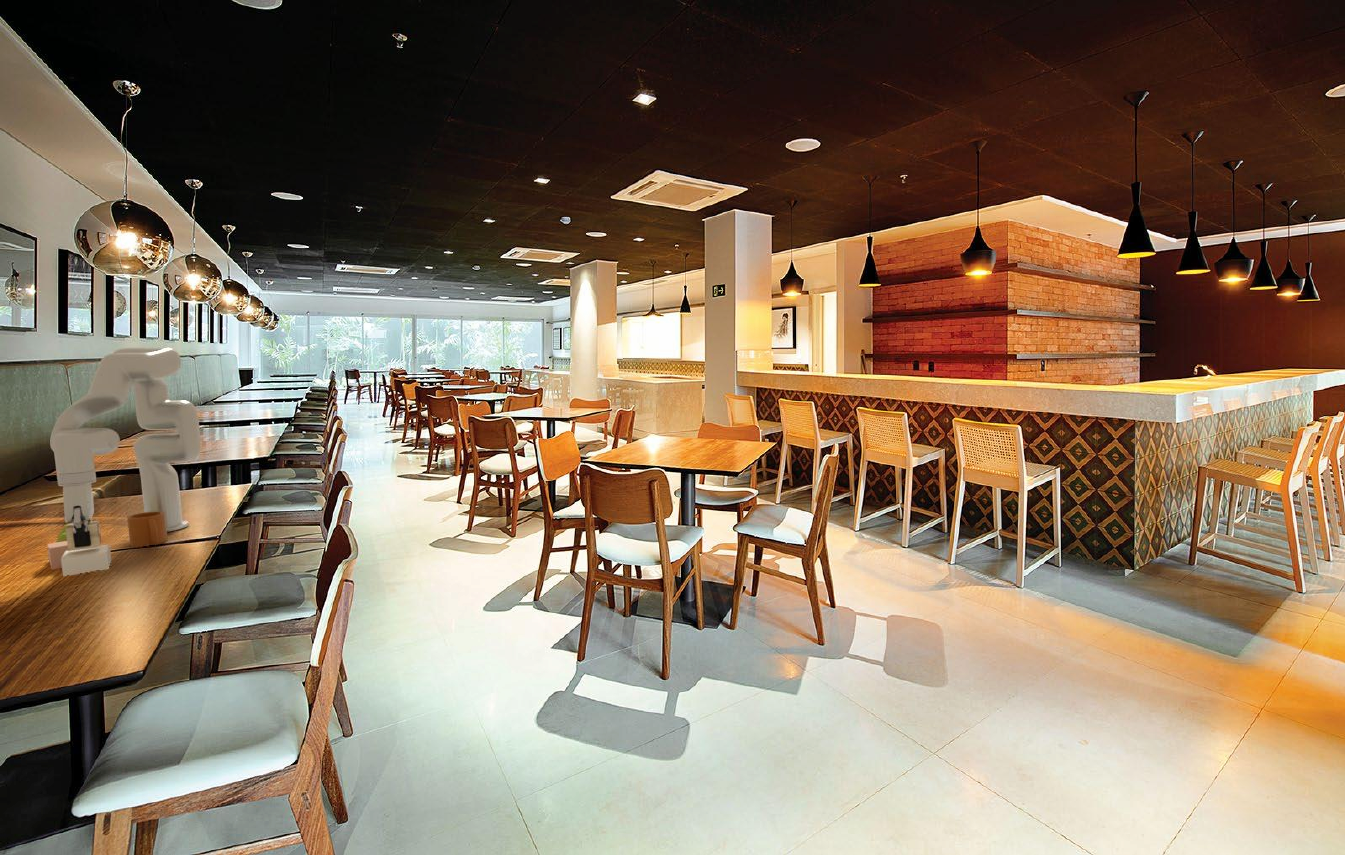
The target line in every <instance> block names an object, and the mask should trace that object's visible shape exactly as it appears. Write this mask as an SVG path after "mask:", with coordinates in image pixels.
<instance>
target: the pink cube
mask: <svg viewBox="0 0 1345 855" xmlns="http://www.w3.org/2000/svg"><path fill="white" fill-rule="evenodd" d="M46 545H47V553H48V559H49V565H50V568H51V570H57V569H62V563H61V558H62V556H63V555H64V553H65V551H66V550H68V544H67V541H63V542H57V543H56V542H52V543H47V544H46Z"/></svg>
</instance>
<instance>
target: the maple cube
mask: <svg viewBox="0 0 1345 855" xmlns="http://www.w3.org/2000/svg"><path fill="white" fill-rule="evenodd" d="M68 524H69V525H68V527H67V528H66V536H67V544H68V551H72V550H79V549H87V548H94V547H99V546H101V543H102V534H101V526H100V520H94V521H93V520H92V521H91V522H88V531H90V538H91V545H90V546H85V547H78V548H76V547H75V545H74V537H73V533H74V532H73V524H71V523H68ZM83 524H84V523H83Z"/></svg>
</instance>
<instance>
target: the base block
mask: <svg viewBox="0 0 1345 855" xmlns="http://www.w3.org/2000/svg"><path fill="white" fill-rule="evenodd" d="M61 563H62V568H61V569H62V576H63V577H67V575H69V576H75V575H80V573H82V574H86V573H85V572H88V573H91V572H90V571H94V570H100V571H104V570H110V567H109V566H111V564H110V563H112V554H111V546H110V543H109V544H102V545H101V544H100V545H99V547H94V548H87V549H79V550H72V551H68V550H66V551H65V553H64V555H63V556H62V558H61ZM94 572H95V571H94Z"/></svg>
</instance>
